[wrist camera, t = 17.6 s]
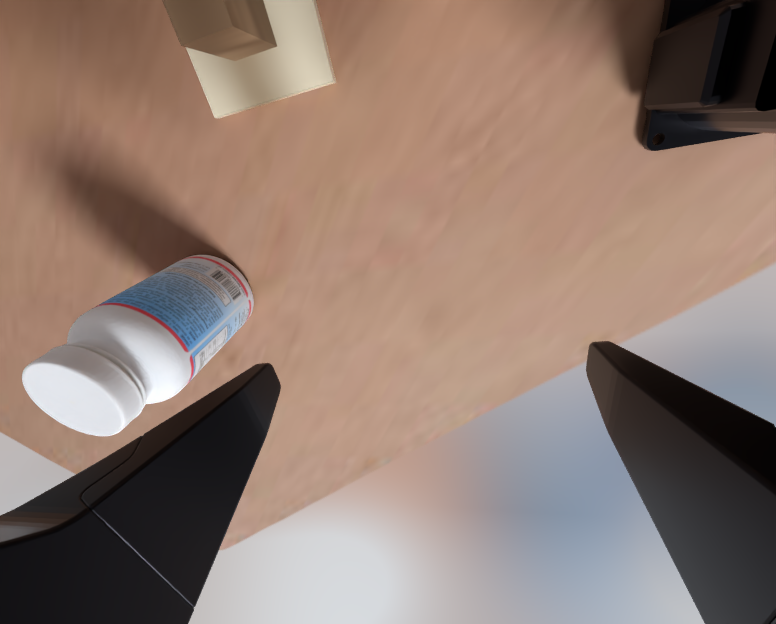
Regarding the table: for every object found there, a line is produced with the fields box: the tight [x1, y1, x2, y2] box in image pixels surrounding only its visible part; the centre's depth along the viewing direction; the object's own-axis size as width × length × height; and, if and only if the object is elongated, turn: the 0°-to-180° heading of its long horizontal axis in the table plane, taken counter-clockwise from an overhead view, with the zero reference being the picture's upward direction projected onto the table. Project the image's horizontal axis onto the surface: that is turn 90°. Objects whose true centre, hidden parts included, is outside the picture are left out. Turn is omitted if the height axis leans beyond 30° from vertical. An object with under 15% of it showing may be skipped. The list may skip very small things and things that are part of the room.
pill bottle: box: [22, 255, 254, 436], centre depth 20 cm, size 6×6×11 cm
